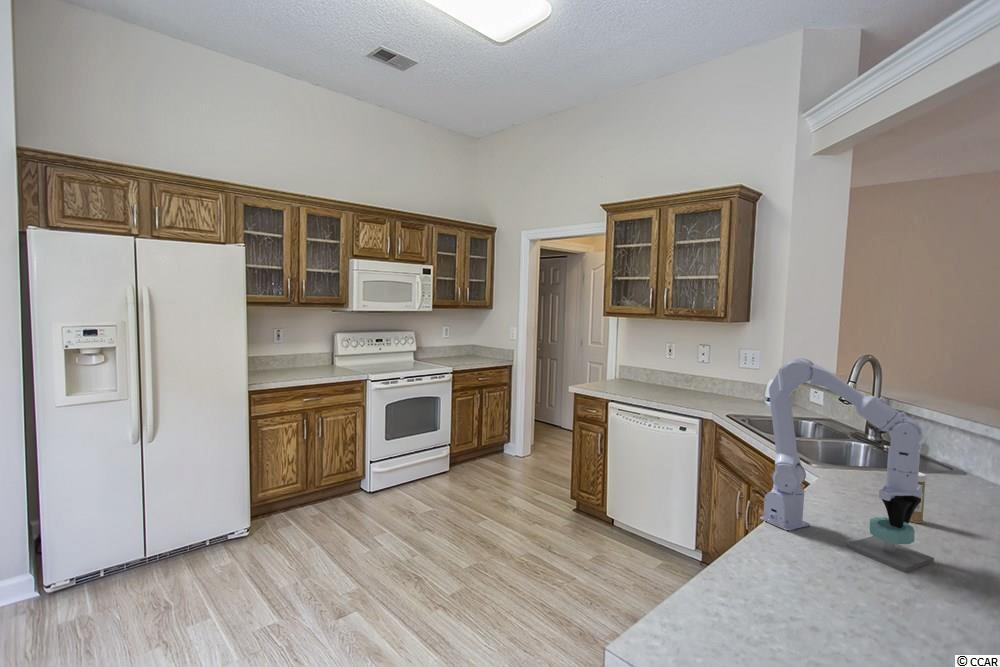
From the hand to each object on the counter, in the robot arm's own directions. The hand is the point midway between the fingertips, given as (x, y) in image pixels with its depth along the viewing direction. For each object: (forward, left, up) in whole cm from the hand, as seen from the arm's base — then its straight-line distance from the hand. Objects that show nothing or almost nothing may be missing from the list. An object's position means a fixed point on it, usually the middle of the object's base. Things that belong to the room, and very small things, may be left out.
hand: (898, 525), depth 114 cm
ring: (-3, 0, -2) cm, 3 cm away
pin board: (-3, 0, -6) cm, 7 cm away
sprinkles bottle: (+27, +9, -7) cm, 29 cm away
